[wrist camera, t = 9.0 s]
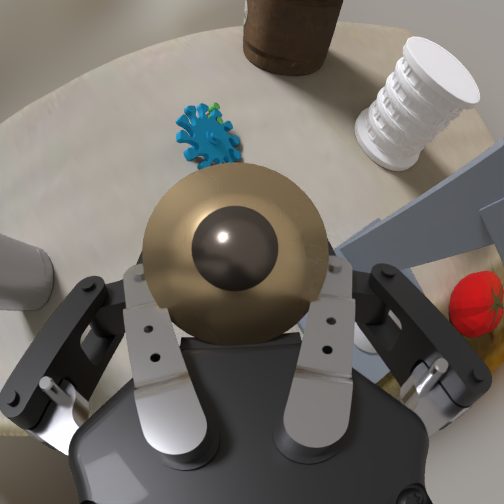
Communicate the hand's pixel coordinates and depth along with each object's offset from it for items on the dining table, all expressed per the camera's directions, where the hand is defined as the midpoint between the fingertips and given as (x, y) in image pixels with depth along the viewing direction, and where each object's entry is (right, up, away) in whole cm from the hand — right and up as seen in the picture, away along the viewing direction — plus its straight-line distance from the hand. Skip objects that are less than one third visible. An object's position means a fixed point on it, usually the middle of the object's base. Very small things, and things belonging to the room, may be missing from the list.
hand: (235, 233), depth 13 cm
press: (+18, -6, +20) cm, 28 cm away
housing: (0, -3, +4) cm, 5 cm away
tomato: (+33, -9, +21) cm, 40 cm away
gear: (-5, +13, +23) cm, 27 cm away
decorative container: (+22, +17, +25) cm, 37 cm away
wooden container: (+6, +35, +28) cm, 45 cm away
